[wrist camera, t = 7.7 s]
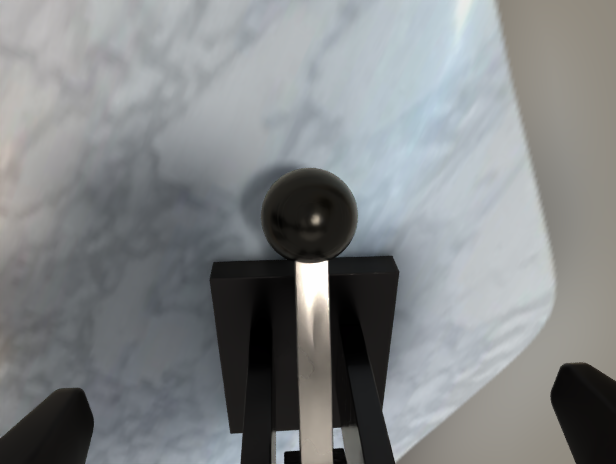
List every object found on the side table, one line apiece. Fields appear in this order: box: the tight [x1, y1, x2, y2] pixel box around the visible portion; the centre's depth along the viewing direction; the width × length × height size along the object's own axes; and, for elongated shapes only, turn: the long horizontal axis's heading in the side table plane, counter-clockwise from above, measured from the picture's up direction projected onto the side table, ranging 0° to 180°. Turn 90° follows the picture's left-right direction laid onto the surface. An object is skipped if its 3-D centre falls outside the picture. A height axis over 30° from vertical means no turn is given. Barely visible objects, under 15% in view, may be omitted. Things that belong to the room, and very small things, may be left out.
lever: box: [261, 168, 358, 464], centre depth 15 cm, size 13×3×3 cm, turn 0°
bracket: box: [210, 256, 399, 464], centre depth 18 cm, size 10×8×10 cm
